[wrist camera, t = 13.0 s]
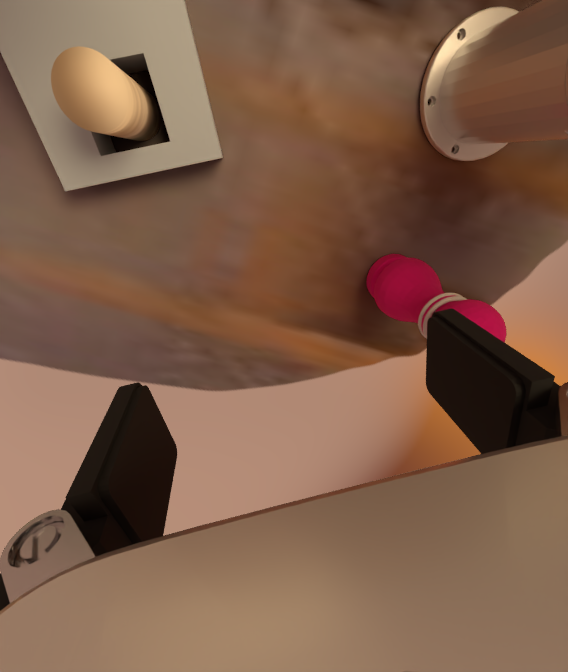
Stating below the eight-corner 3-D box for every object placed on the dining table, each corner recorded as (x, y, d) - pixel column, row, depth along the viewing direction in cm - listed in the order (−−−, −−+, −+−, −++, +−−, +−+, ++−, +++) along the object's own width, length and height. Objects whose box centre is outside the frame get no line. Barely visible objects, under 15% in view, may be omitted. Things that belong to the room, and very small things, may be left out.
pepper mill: (350, 284, 43) (435, 371, 25) (390, 237, 41) (512, 296, 23) (388, 313, 46) (488, 410, 28) (427, 270, 43) (561, 346, 26)
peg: (150, 80, 31) (109, 39, 20) (167, 135, 33) (138, 124, 22) (102, 90, 31) (36, 54, 20) (122, 145, 33) (72, 138, 22)
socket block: (168, -68, 27) (156, -112, 22) (223, 157, 34) (222, 157, 30) (-10, -34, 26) (-58, -73, 22) (86, 187, 34) (65, 191, 29)
